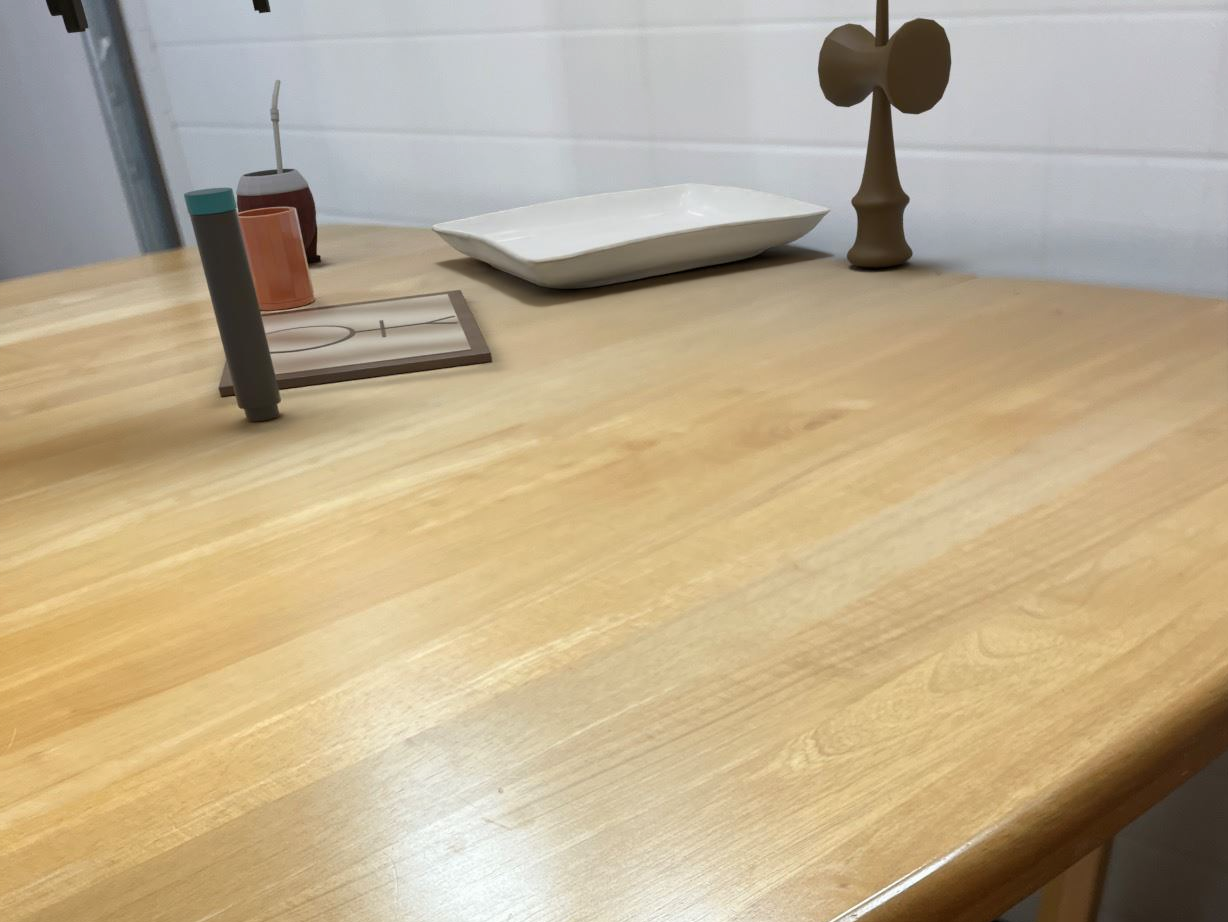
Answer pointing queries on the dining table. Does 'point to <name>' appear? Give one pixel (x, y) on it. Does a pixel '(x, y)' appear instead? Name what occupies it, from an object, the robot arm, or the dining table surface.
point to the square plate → (631, 233)
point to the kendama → (884, 115)
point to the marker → (234, 301)
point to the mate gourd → (281, 190)
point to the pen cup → (276, 257)
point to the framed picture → (370, 339)
